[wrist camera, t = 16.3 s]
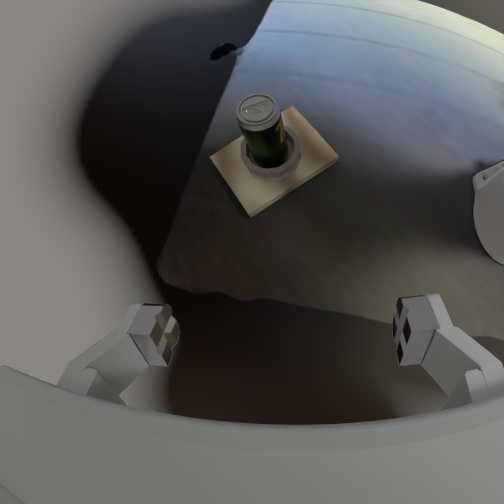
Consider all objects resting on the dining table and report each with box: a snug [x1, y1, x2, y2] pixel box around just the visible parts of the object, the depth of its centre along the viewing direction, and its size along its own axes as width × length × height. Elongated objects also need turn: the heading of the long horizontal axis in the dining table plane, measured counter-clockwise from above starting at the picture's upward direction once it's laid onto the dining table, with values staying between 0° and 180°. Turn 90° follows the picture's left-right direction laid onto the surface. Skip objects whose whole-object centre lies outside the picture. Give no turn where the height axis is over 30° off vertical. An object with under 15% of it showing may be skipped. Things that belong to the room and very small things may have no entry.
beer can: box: [236, 93, 289, 169], centre depth 38 cm, size 5×5×12 cm
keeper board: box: [210, 106, 339, 217], centre depth 44 cm, size 16×12×4 cm
